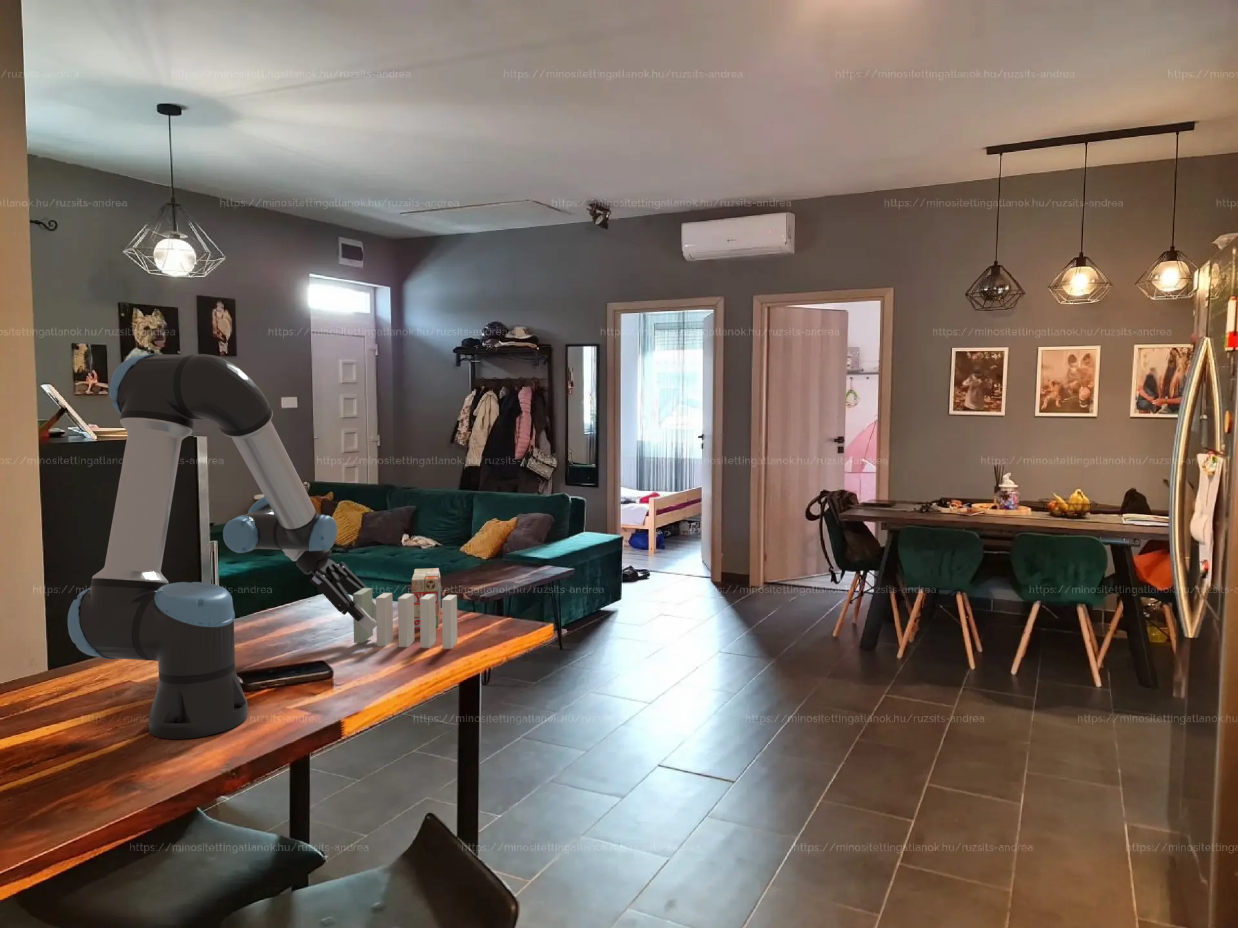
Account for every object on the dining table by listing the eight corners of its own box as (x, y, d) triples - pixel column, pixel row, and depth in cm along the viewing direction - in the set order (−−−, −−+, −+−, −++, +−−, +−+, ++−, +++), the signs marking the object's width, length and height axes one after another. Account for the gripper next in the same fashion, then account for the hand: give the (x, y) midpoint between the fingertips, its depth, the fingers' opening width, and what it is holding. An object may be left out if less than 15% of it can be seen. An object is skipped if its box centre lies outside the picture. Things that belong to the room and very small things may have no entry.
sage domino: (353, 642, 186) (352, 594, 185) (364, 634, 192) (363, 587, 191) (362, 642, 186) (361, 594, 185) (373, 635, 192) (372, 588, 191)
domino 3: (420, 647, 185) (419, 598, 184) (427, 641, 190) (426, 594, 189) (429, 647, 185) (428, 599, 184) (435, 641, 190) (435, 594, 189)
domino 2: (398, 646, 186) (397, 598, 185) (405, 640, 190) (405, 593, 189) (407, 647, 186) (406, 598, 185) (414, 641, 190) (413, 593, 189)
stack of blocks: (417, 607, 221) (416, 561, 220) (441, 606, 222) (440, 560, 221) (412, 629, 200) (411, 578, 199) (438, 628, 201) (438, 578, 200)
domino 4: (442, 648, 185) (441, 599, 184) (448, 642, 189) (448, 594, 188) (451, 648, 185) (450, 599, 184) (457, 642, 189) (456, 594, 188)
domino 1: (376, 646, 186) (376, 597, 185) (384, 640, 191) (383, 592, 190) (385, 646, 186) (384, 597, 185) (393, 640, 191) (392, 593, 190)
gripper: (315, 554, 198) (383, 624, 198) (275, 571, 180) (350, 648, 179) (336, 533, 197) (404, 603, 197) (298, 547, 179) (373, 625, 178)
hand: (378, 624), depth 188 cm, fingers closed on sage domino, 6 cm apart
